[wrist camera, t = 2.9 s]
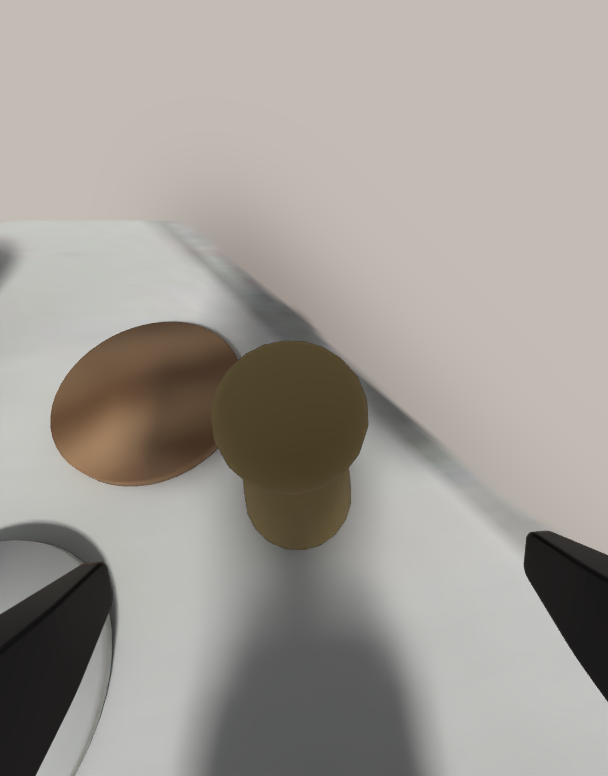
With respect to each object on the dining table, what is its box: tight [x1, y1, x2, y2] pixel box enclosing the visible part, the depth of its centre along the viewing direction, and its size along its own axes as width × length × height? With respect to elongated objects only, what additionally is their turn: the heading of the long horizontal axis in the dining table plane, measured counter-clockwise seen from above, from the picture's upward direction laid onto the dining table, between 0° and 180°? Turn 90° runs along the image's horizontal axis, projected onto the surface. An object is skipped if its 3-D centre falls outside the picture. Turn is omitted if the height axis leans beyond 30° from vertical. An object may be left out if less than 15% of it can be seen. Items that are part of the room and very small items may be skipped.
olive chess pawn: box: [211, 341, 368, 550], centre depth 15 cm, size 6×6×11 cm
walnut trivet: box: [51, 322, 238, 486], centre depth 22 cm, size 12×12×1 cm
